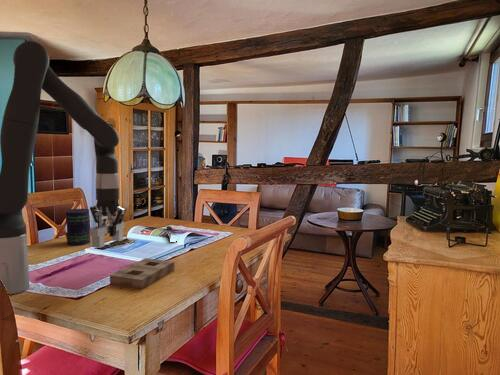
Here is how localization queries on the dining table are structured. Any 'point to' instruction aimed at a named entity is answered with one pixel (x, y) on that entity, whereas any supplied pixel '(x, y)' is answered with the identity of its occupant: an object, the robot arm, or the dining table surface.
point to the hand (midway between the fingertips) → (108, 235)
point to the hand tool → (169, 228)
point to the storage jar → (77, 227)
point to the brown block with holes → (142, 273)
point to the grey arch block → (104, 229)
